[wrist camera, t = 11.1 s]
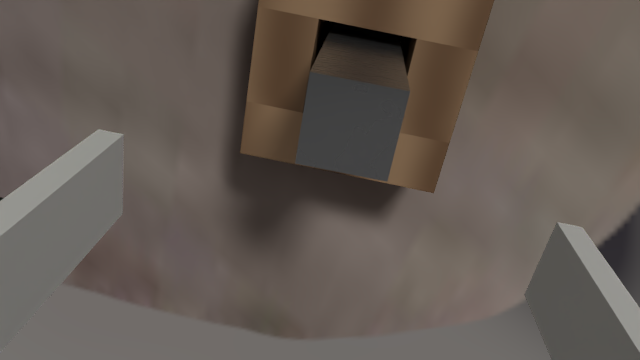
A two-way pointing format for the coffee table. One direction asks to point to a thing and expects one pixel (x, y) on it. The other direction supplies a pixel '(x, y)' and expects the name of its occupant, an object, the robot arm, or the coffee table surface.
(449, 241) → the coffee table surface
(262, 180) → the coffee table surface
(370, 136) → the dark grey bar
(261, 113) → the wooden square frame
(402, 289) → the coffee table surface
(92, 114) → the coffee table surface
